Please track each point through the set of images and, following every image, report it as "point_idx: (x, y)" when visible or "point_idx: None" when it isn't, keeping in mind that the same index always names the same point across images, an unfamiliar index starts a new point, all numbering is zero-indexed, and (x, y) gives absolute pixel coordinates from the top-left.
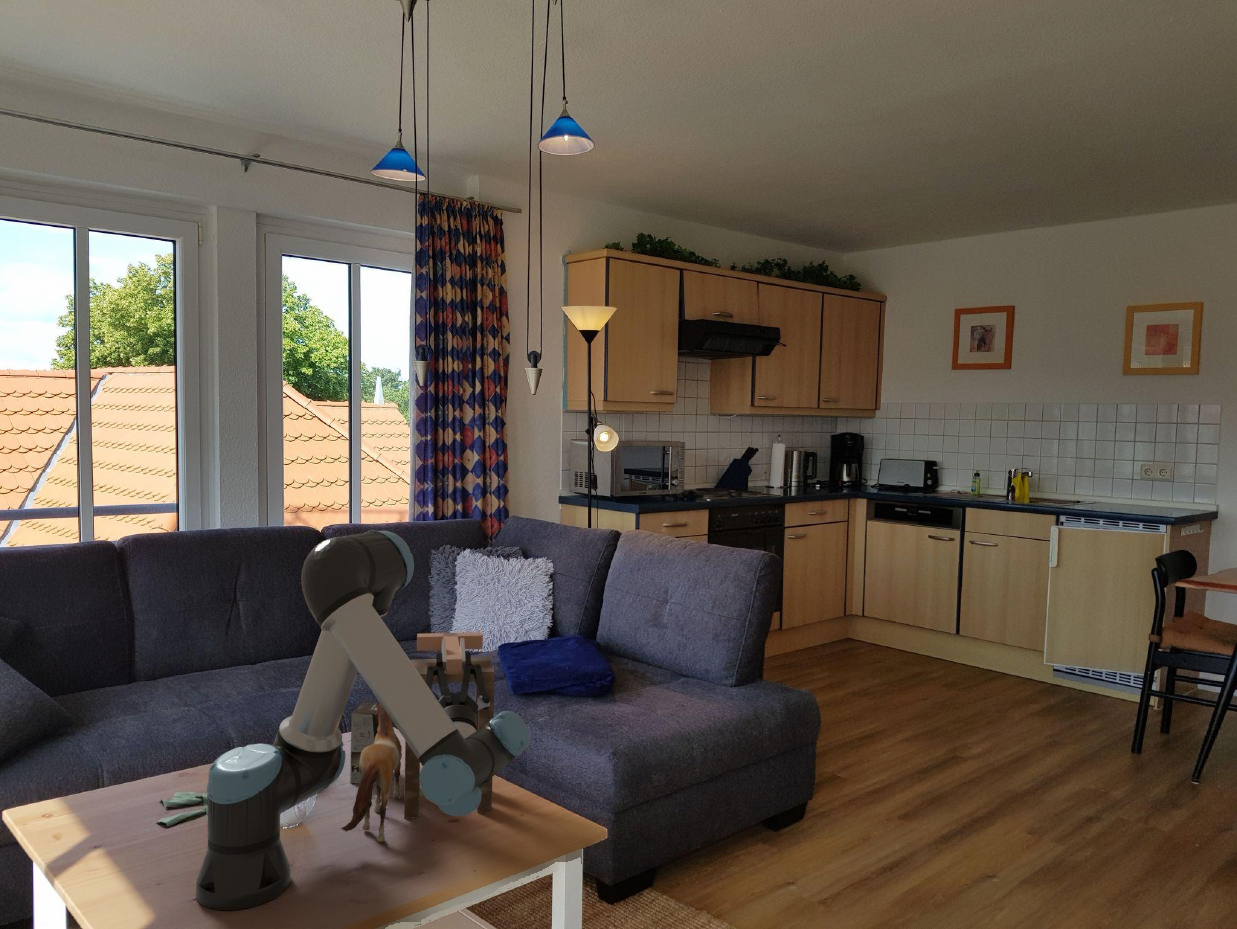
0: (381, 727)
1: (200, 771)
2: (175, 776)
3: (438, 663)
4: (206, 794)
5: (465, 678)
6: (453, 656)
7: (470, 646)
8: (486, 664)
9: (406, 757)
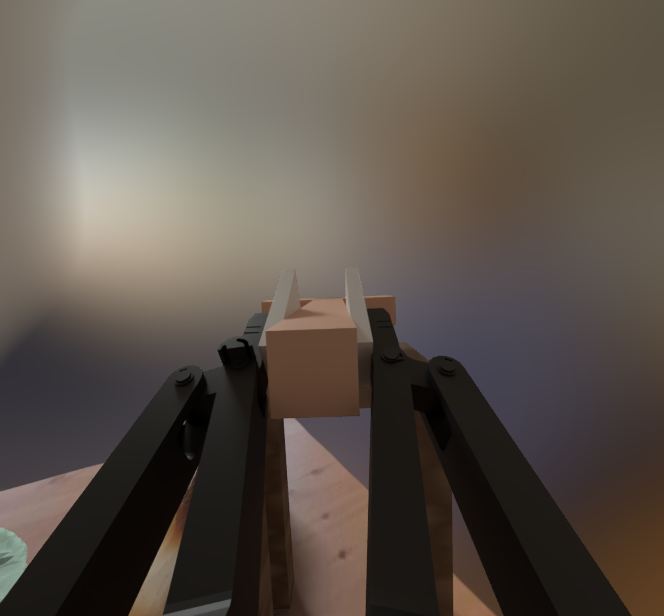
0: (187, 496)
1: (77, 474)
2: (44, 483)
3: (229, 355)
4: (12, 539)
5: (391, 471)
6: (313, 321)
7: None
8: (410, 357)
9: None
